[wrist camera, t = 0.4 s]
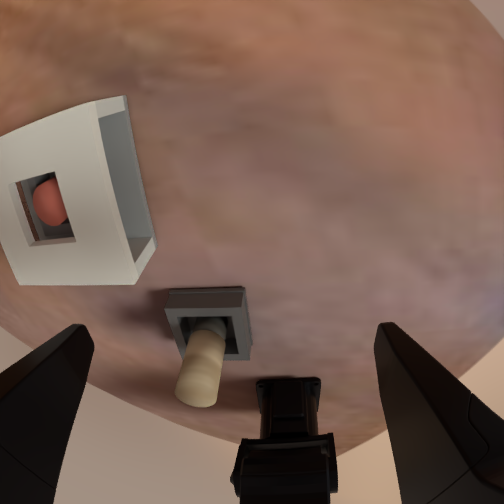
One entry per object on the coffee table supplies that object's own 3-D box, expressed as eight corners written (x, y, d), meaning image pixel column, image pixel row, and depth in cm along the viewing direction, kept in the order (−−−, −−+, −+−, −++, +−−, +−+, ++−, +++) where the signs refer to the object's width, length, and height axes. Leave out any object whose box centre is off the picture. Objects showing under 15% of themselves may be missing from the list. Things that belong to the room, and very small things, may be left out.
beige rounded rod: (231, 332, 26) (220, 408, 20) (199, 332, 26) (180, 405, 20) (226, 307, 25) (212, 385, 18) (192, 308, 25) (169, 382, 18)
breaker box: (157, 245, 23) (134, 284, 19) (49, 253, 24) (19, 285, 20) (125, 94, 17) (87, 102, 13) (13, 133, 18) (-29, 151, 14)
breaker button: (86, 210, 20) (71, 223, 18) (55, 215, 20) (40, 228, 18) (75, 170, 18) (58, 180, 16) (44, 177, 18) (27, 187, 17)
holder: (252, 342, 27) (251, 361, 25) (186, 342, 28) (181, 360, 26) (245, 287, 24) (242, 306, 22) (170, 289, 25) (162, 307, 23)
